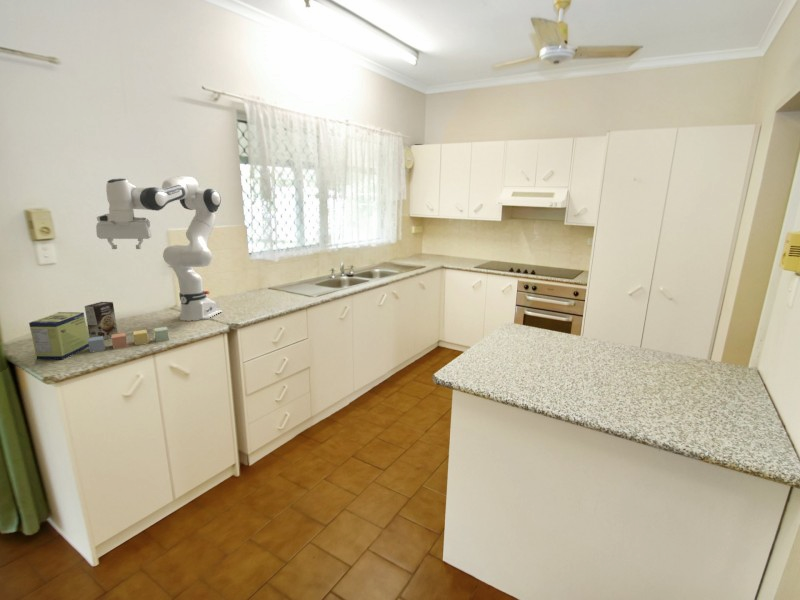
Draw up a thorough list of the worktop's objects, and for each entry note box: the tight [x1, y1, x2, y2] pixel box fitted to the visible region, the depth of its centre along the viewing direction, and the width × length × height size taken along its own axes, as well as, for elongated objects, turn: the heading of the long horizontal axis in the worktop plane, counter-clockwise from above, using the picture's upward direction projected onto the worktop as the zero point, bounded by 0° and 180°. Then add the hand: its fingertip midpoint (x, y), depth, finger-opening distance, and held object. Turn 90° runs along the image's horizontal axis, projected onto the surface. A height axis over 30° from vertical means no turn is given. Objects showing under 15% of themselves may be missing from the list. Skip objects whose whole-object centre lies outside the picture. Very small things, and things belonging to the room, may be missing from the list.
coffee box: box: [84, 301, 119, 341], centre depth 184 cm, size 9×6×16 cm
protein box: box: [28, 311, 89, 360], centre depth 166 cm, size 10×16×16 cm
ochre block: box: [132, 329, 149, 346], centre depth 180 cm, size 5×5×5 cm
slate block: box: [88, 336, 106, 353], centre depth 171 cm, size 5×5×5 cm
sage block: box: [153, 326, 170, 342], centre depth 185 cm, size 5×5×5 cm
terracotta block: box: [111, 332, 128, 349], centre depth 176 cm, size 5×5×5 cm
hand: (126, 249), depth 178 cm, fingers open, 8 cm apart
